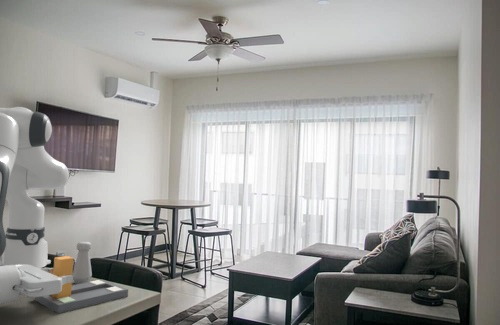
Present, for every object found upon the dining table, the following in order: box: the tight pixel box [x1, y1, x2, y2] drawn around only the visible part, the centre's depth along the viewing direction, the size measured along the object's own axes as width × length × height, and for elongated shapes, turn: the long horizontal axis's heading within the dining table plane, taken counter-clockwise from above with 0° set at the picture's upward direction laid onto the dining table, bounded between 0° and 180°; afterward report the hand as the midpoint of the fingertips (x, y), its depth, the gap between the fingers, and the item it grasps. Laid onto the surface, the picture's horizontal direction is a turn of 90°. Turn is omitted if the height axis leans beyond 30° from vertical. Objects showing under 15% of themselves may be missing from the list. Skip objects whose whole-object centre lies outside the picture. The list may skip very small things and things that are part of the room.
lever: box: [52, 255, 74, 299], centre depth 103 cm, size 4×4×11 cm
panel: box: [33, 279, 129, 314], centre depth 107 cm, size 14×20×2 cm
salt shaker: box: [72, 241, 93, 285], centre depth 122 cm, size 6×6×13 cm
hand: (63, 274), depth 103 cm, fingers open, 8 cm apart
